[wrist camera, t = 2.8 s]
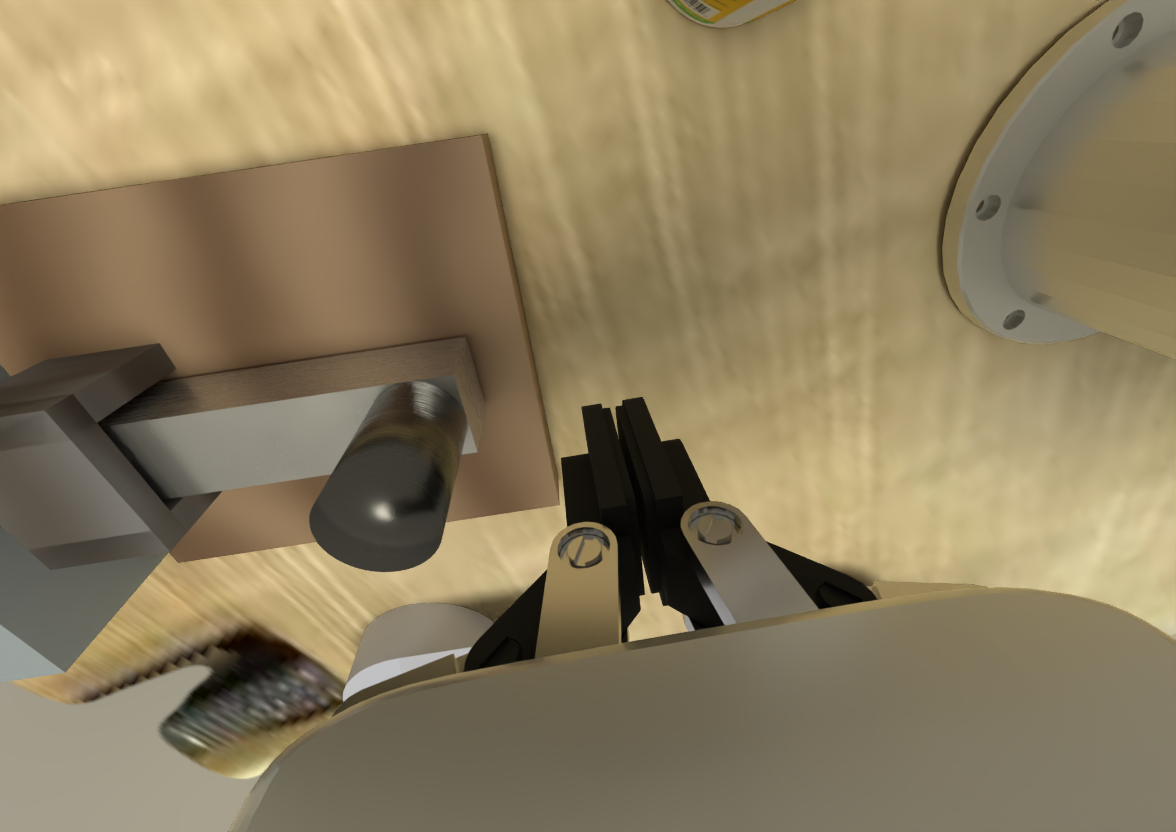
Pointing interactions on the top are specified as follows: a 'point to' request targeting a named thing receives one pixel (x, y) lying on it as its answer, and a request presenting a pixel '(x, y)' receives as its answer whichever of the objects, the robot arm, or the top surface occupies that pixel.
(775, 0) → the supplement bottle
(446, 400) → the bolt
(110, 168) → the top surface
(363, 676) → the wedge on round base
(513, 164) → the top surface
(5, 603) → the block
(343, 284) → the door panel
